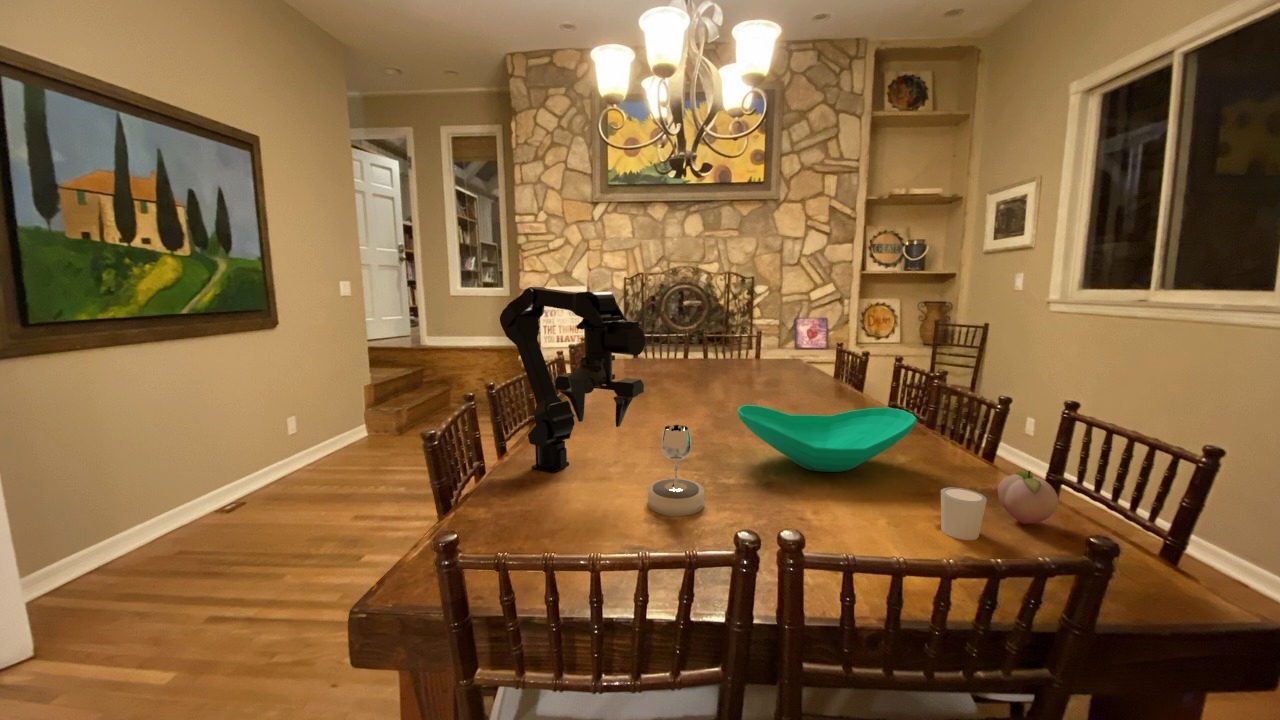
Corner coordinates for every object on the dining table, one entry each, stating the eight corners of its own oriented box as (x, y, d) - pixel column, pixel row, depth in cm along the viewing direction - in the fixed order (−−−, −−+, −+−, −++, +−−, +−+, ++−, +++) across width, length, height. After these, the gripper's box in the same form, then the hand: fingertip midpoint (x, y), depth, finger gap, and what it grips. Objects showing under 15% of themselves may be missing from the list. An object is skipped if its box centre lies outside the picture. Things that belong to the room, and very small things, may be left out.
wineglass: (693, 492, 101) (694, 431, 99) (664, 494, 100) (664, 432, 98) (686, 480, 107) (687, 423, 105) (658, 482, 106) (658, 424, 104)
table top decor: (742, 487, 112) (744, 426, 110) (730, 446, 139) (731, 397, 137) (937, 493, 109) (942, 431, 107) (885, 450, 136) (889, 400, 134)
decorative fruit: (1066, 538, 90) (1073, 482, 89) (1013, 534, 92) (1019, 479, 90) (1035, 514, 99) (1042, 463, 98) (988, 510, 101) (993, 460, 99)
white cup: (928, 524, 95) (931, 487, 94) (964, 522, 96) (968, 486, 95) (954, 542, 89) (958, 503, 88) (992, 541, 89) (996, 502, 88)
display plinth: (638, 509, 101) (638, 492, 101) (661, 488, 111) (661, 473, 110) (692, 520, 96) (692, 503, 96) (711, 498, 106) (711, 482, 106)
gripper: (538, 353, 107) (540, 428, 109) (619, 359, 99) (619, 440, 101) (568, 347, 117) (570, 415, 119) (644, 352, 109) (644, 425, 111)
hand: (599, 424), depth 113 cm, fingers open, 9 cm apart
